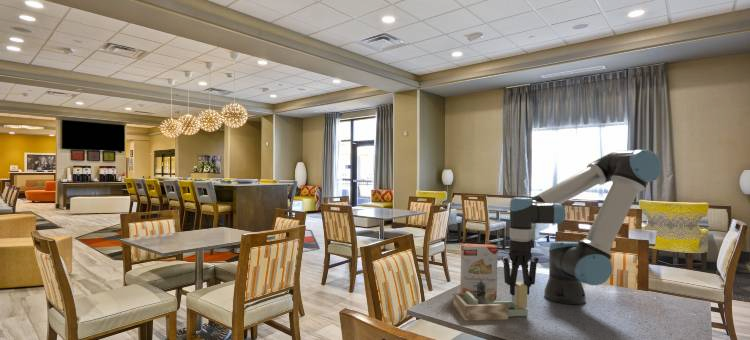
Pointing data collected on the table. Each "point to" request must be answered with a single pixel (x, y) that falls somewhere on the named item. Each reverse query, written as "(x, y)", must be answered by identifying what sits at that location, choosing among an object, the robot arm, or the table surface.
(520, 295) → the tray
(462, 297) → the frame
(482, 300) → the chess piece
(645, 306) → the table surface
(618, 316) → the table surface
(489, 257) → the cracker box
